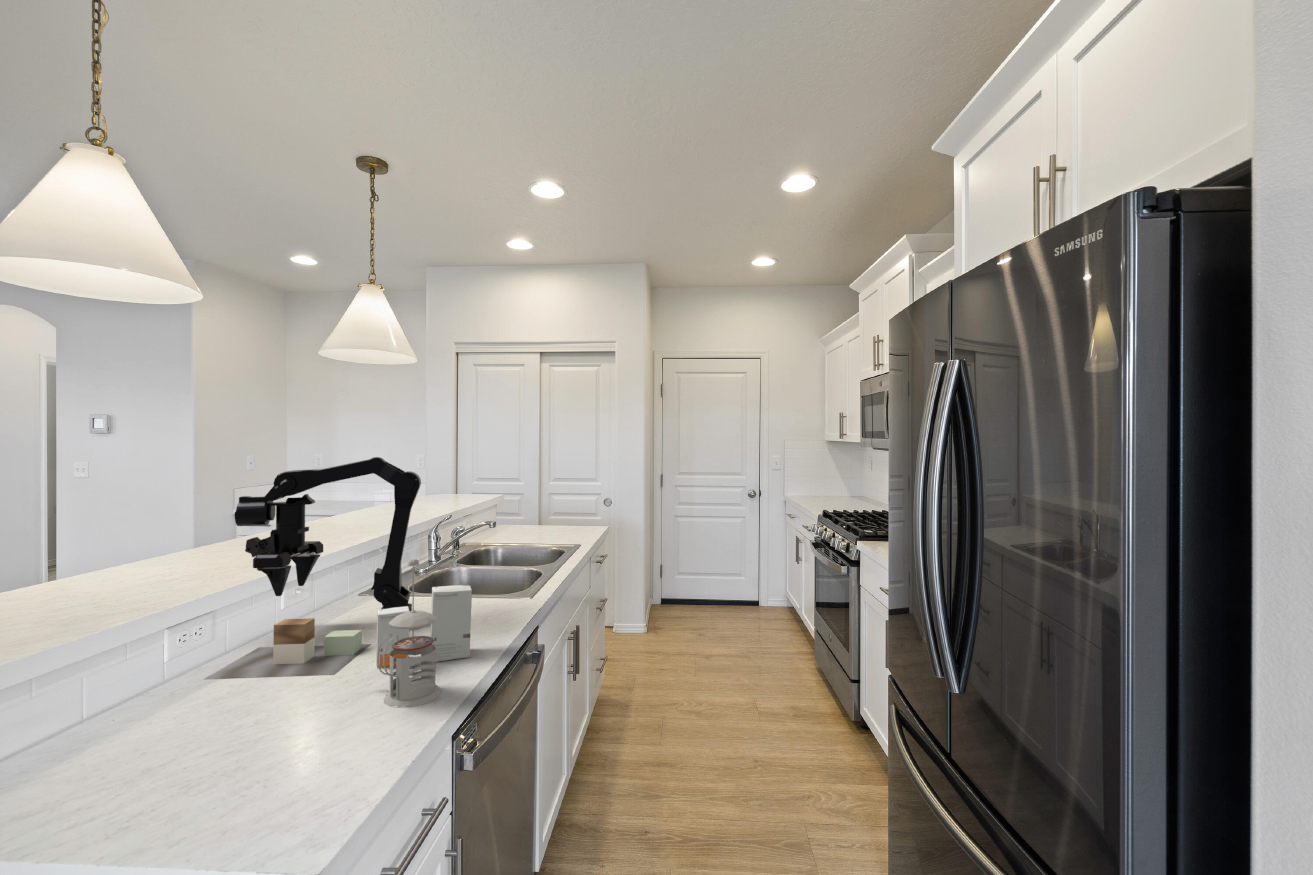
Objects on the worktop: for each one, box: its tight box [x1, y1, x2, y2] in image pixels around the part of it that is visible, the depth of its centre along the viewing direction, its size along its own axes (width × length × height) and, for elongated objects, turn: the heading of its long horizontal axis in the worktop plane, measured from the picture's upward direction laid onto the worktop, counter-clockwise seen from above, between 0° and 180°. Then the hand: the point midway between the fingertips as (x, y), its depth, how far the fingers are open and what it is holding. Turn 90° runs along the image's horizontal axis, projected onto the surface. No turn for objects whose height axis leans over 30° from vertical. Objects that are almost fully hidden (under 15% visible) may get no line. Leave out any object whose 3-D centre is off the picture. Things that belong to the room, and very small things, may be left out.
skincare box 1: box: [376, 606, 410, 669], centre depth 115 cm, size 6×4×12 cm
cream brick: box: [272, 637, 315, 664], centre depth 117 cm, size 6×4×4 cm, turn 95°
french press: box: [376, 558, 442, 708], centre depth 102 cm, size 10×12×25 cm
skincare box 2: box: [430, 584, 473, 663], centre depth 122 cm, size 8×6×15 cm
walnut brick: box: [273, 617, 316, 645], centre depth 117 cm, size 6×4×4 cm, turn 95°
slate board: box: [204, 643, 372, 680], centre depth 117 cm, size 24×17×1 cm
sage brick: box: [323, 629, 363, 656], centre depth 121 cm, size 6×4×4 cm, turn 95°
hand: (290, 590), depth 131 cm, fingers open, 9 cm apart
